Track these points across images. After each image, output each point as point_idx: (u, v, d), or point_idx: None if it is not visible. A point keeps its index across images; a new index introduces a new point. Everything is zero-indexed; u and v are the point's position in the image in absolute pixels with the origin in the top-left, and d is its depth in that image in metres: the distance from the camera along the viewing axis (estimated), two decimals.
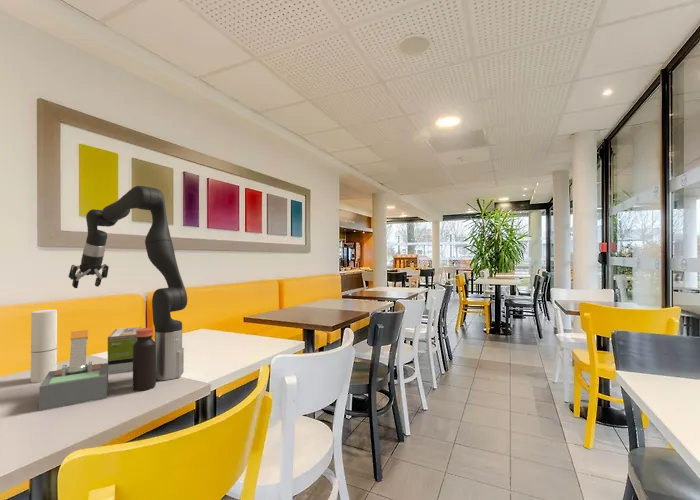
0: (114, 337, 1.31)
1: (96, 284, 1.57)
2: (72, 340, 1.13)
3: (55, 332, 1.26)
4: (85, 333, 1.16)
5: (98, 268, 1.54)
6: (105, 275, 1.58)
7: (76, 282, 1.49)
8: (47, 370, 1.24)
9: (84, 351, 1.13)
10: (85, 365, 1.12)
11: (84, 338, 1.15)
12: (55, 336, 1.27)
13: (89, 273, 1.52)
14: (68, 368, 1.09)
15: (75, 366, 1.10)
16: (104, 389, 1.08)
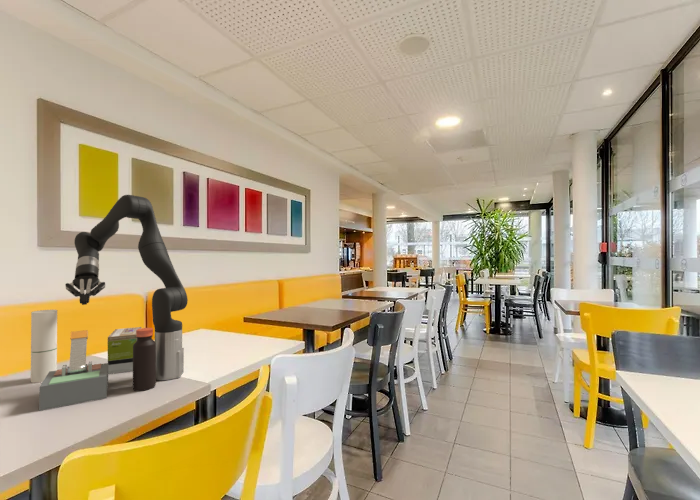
0: (114, 337, 1.31)
1: None
2: (72, 340, 1.13)
3: (55, 332, 1.26)
4: (85, 333, 1.16)
5: (93, 282, 1.35)
6: None
7: (82, 296, 1.29)
8: (47, 370, 1.24)
9: (84, 351, 1.13)
10: (85, 365, 1.12)
11: (84, 338, 1.15)
12: (55, 336, 1.27)
13: (84, 285, 1.33)
14: (68, 368, 1.09)
15: (75, 366, 1.10)
16: (104, 389, 1.08)
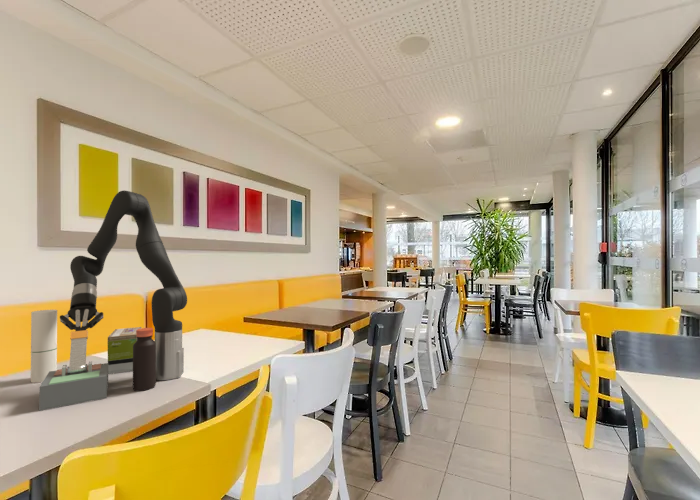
0: (114, 337, 1.31)
1: None
2: (72, 340, 1.13)
3: (55, 332, 1.26)
4: (85, 333, 1.16)
5: (91, 313, 1.23)
6: None
7: (77, 329, 1.18)
8: (47, 370, 1.24)
9: (84, 351, 1.13)
10: (85, 365, 1.12)
11: (84, 338, 1.15)
12: (55, 336, 1.27)
13: (80, 316, 1.21)
14: (68, 368, 1.09)
15: (75, 366, 1.10)
16: (104, 389, 1.08)
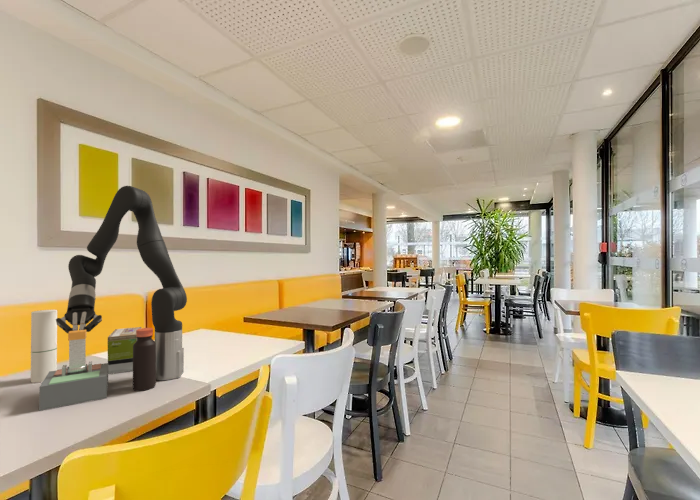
0: (114, 337, 1.31)
1: None
2: (70, 341, 1.09)
3: (55, 332, 1.26)
4: (83, 334, 1.11)
5: (88, 316, 1.18)
6: None
7: None
8: (47, 370, 1.24)
9: (83, 353, 1.11)
10: (85, 367, 1.11)
11: (82, 339, 1.11)
12: (55, 336, 1.27)
13: (77, 320, 1.16)
14: (68, 370, 1.09)
15: (75, 368, 1.10)
16: (104, 389, 1.08)
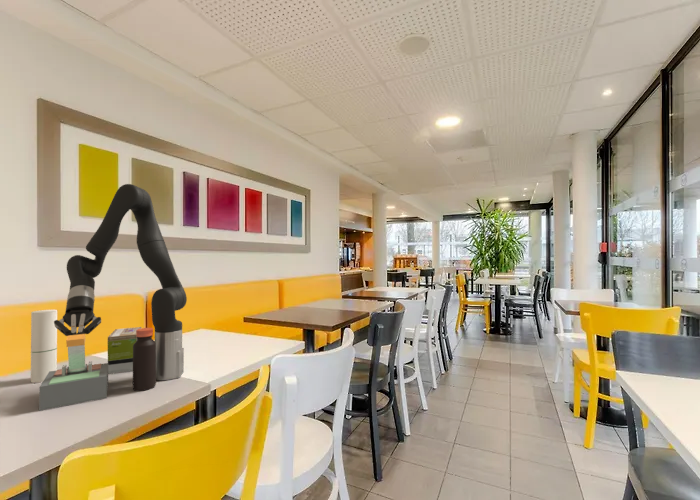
0: (114, 337, 1.31)
1: None
2: (69, 347, 1.06)
3: (55, 332, 1.26)
4: (82, 341, 1.07)
5: (87, 317, 1.15)
6: (86, 327, 1.13)
7: None
8: (47, 370, 1.24)
9: (83, 356, 1.09)
10: (85, 368, 1.11)
11: (81, 345, 1.08)
12: (55, 336, 1.27)
13: (76, 322, 1.13)
14: (68, 371, 1.09)
15: (75, 369, 1.10)
16: (104, 389, 1.08)
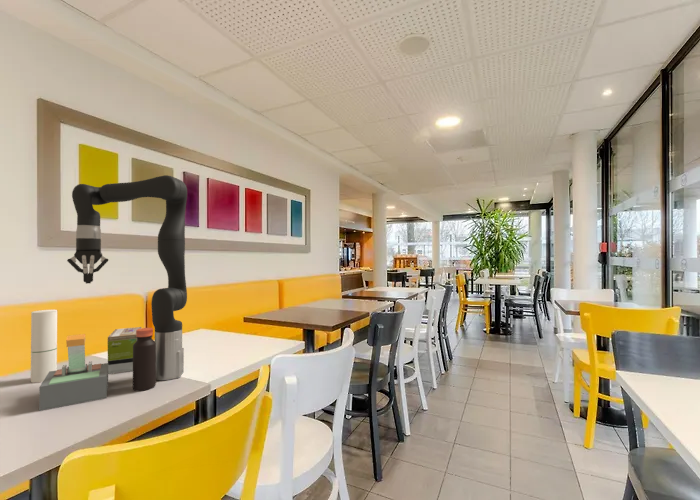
0: (114, 337, 1.31)
1: None
2: (69, 347, 1.06)
3: (55, 332, 1.26)
4: (82, 341, 1.07)
5: (96, 258, 1.30)
6: (96, 268, 1.30)
7: (85, 276, 1.28)
8: (47, 370, 1.24)
9: (83, 356, 1.09)
10: (85, 368, 1.11)
11: (81, 345, 1.08)
12: (55, 336, 1.27)
13: (86, 262, 1.28)
14: (68, 371, 1.09)
15: (75, 369, 1.10)
16: (104, 389, 1.08)
